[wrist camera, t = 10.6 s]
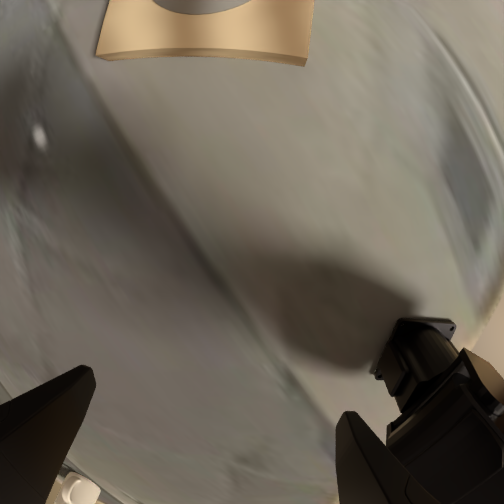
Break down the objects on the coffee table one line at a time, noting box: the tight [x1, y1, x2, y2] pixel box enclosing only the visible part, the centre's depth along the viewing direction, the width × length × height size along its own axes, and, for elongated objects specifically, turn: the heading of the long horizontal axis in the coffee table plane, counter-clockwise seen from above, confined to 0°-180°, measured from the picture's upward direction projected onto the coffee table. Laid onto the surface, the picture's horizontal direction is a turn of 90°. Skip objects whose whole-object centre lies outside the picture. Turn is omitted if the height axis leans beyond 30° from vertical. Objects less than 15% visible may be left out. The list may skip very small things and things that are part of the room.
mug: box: [54, 472, 100, 504], centre depth 36 cm, size 12×9×8 cm
